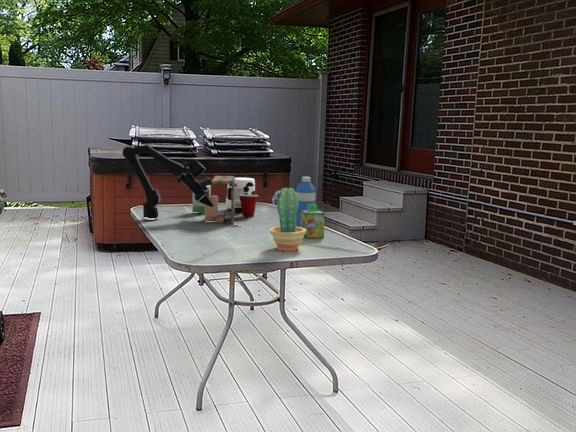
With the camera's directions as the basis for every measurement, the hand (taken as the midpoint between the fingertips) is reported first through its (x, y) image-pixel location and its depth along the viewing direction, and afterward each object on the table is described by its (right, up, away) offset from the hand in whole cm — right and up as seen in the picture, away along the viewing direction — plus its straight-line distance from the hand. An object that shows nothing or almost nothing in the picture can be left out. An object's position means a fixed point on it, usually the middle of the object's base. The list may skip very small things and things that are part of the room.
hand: (213, 205), depth 300 cm
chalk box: (+49, -15, -34) cm, 62 cm away
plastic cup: (+17, -6, +15) cm, 24 cm away
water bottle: (+47, -12, -15) cm, 50 cm away
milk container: (+11, -3, +34) cm, 36 cm away
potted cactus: (+38, -19, -59) cm, 73 cm away
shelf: (+3, -8, +2) cm, 9 cm away
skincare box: (-9, -4, +22) cm, 24 cm away
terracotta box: (-1, -8, +1) cm, 8 cm away
